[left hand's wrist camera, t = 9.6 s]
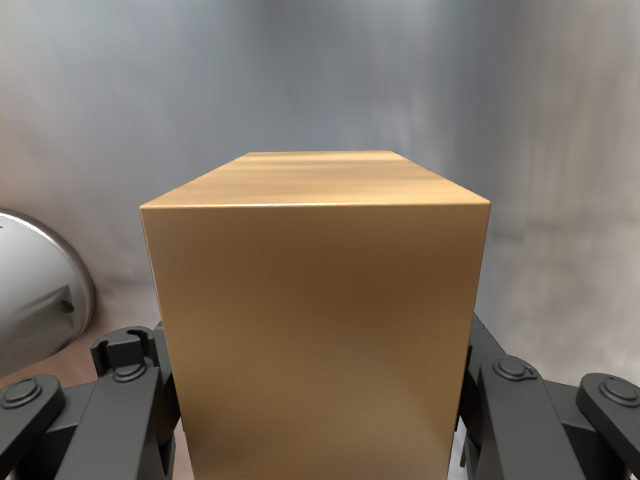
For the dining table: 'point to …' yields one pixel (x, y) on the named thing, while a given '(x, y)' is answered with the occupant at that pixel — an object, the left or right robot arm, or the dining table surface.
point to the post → (317, 313)
